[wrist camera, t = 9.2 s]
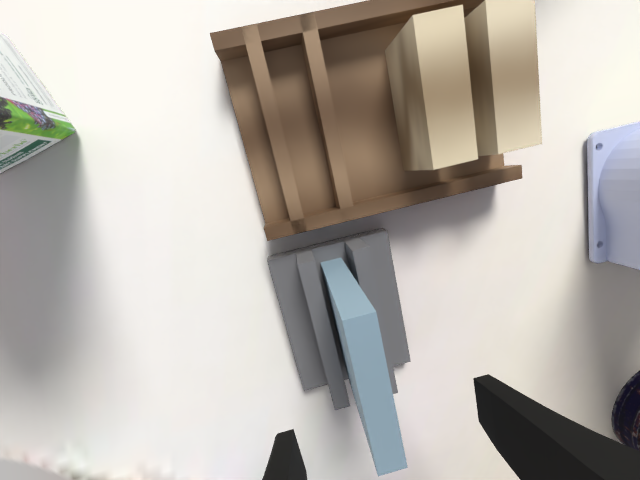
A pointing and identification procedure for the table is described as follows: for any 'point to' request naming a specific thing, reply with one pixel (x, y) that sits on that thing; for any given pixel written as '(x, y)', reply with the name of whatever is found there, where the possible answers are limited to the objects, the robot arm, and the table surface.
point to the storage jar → (628, 414)
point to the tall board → (365, 365)
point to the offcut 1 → (432, 90)
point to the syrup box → (25, 110)
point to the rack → (333, 117)
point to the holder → (316, 314)
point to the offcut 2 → (504, 75)
